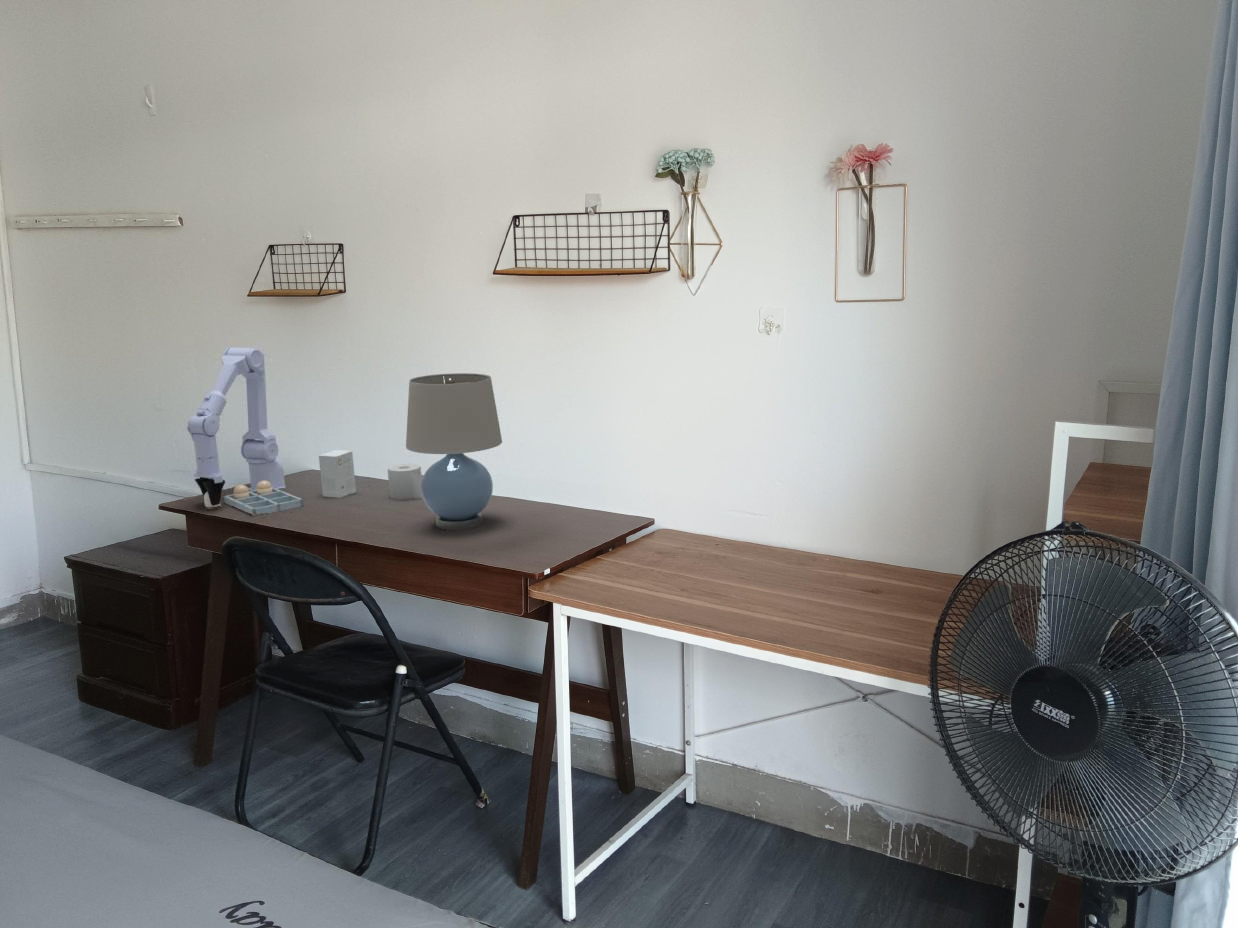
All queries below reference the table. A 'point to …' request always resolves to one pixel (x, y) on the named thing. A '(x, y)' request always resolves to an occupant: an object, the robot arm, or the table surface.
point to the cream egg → (207, 501)
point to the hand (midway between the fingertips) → (212, 503)
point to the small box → (337, 473)
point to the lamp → (454, 443)
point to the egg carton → (265, 502)
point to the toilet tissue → (405, 481)
